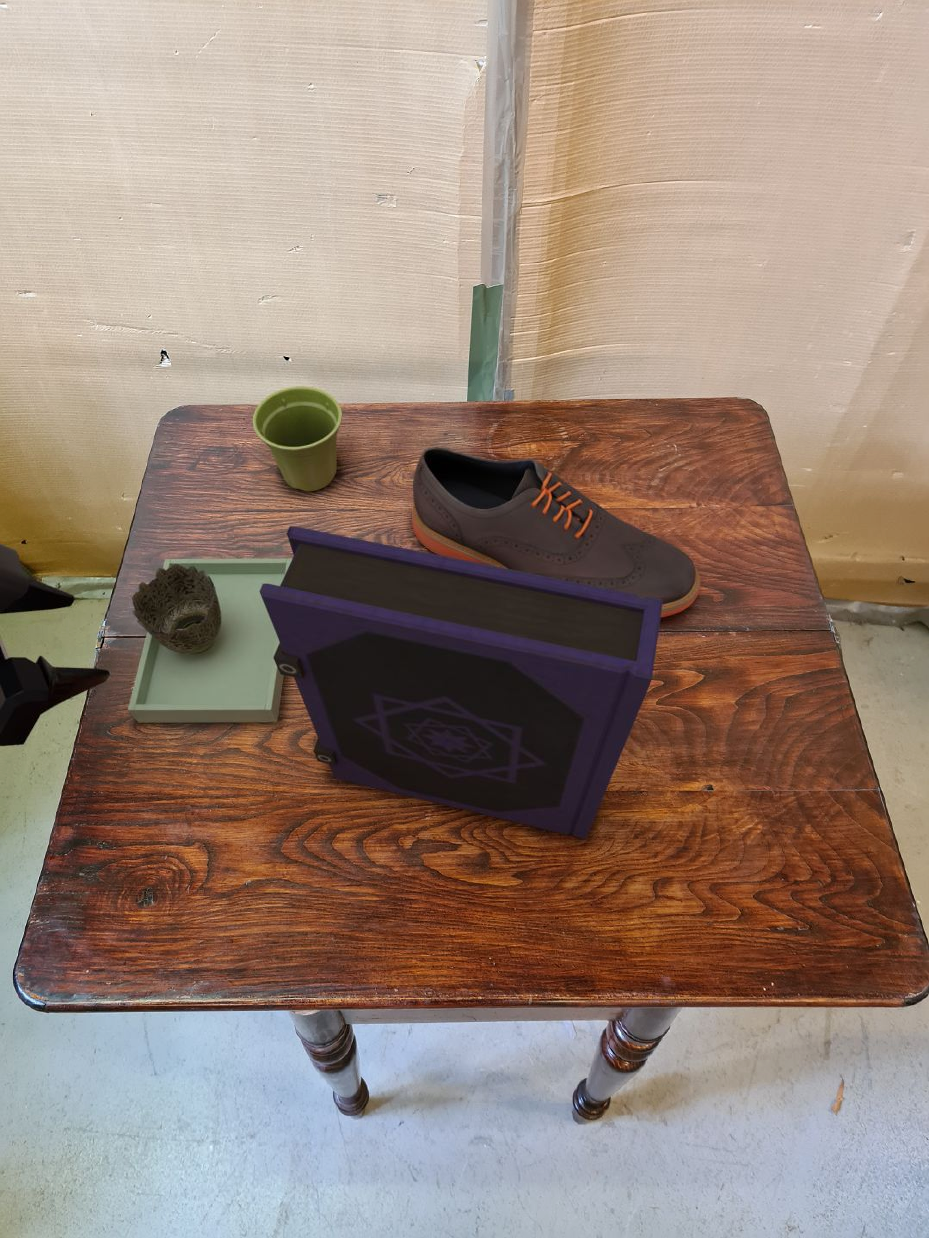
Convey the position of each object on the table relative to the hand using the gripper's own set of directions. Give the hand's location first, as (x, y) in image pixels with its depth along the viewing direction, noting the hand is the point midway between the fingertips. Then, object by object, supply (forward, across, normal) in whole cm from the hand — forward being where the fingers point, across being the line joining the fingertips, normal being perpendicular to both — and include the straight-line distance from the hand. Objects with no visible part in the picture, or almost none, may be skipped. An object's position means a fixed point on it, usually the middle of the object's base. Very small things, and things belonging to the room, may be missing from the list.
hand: (89, 637), depth 70 cm
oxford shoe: (+36, -11, -24) cm, 45 cm away
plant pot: (+26, +15, -13) cm, 33 cm away
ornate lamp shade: (+11, 0, 0) cm, 11 cm away
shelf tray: (+13, -1, -1) cm, 13 cm away
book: (+22, -26, -9) cm, 35 cm away
